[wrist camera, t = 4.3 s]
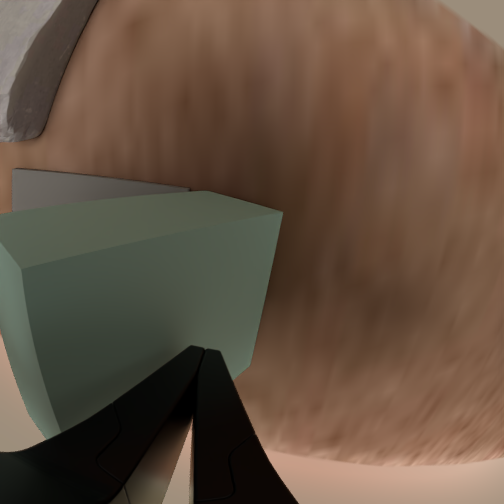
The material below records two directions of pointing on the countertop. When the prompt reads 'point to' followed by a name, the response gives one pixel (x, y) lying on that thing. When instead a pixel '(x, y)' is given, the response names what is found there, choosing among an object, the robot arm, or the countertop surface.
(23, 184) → the mat
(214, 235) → the slab
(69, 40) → the stone block
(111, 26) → the countertop surface
